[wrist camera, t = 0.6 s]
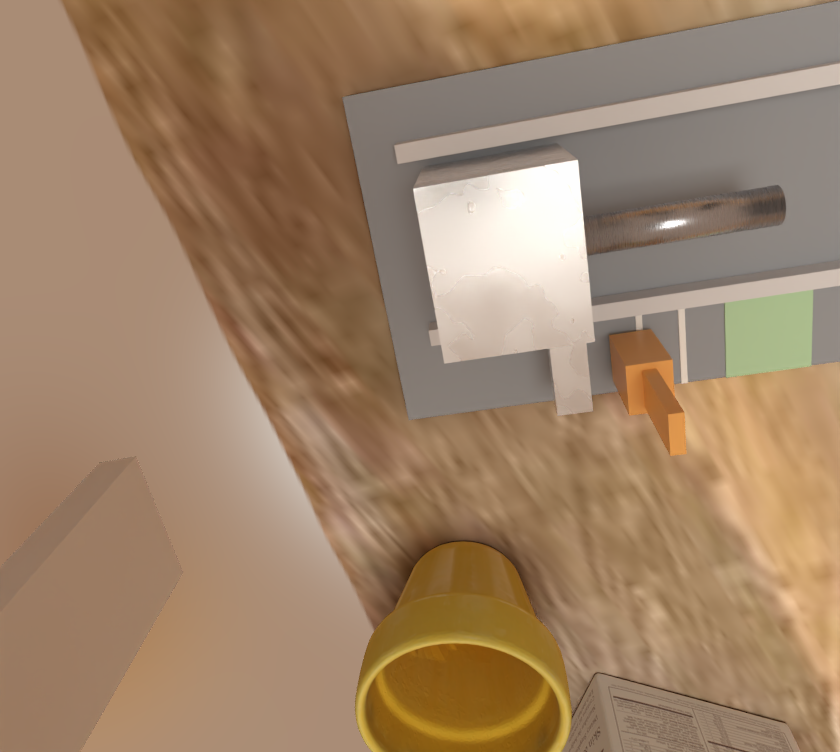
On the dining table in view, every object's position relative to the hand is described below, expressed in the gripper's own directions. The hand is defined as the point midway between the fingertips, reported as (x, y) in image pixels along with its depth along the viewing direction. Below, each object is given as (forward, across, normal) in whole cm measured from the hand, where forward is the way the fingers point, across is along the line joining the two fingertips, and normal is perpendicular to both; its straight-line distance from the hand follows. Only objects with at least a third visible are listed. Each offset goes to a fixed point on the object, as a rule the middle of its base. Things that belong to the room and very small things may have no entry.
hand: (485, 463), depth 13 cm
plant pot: (+24, -5, -21) cm, 32 cm away
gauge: (+22, +5, -3) cm, 23 cm away
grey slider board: (+24, +11, -2) cm, 26 cm away
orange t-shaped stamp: (+22, +6, -8) cm, 24 cm away
